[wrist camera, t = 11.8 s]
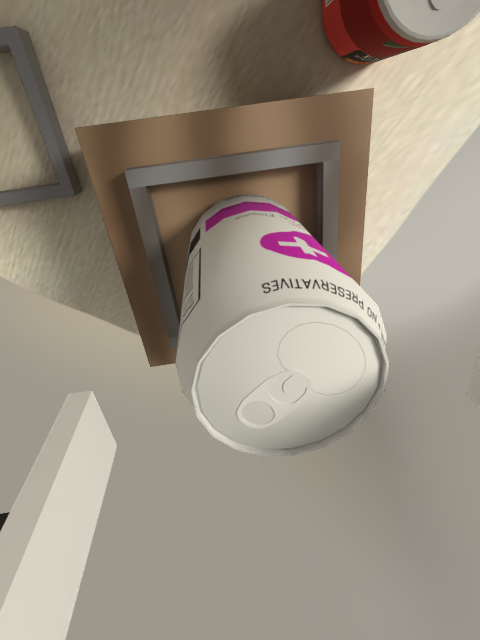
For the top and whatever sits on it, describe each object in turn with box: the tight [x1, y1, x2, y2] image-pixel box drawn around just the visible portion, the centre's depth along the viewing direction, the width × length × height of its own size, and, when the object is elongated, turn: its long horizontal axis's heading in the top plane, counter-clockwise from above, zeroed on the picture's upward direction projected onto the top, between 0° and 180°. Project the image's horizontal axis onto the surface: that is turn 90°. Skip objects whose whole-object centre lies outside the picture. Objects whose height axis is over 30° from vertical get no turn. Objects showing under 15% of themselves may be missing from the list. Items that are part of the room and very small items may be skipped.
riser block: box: [75, 88, 374, 367], centre depth 30 cm, size 18×18×14 cm
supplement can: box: [176, 194, 389, 456], centre depth 19 cm, size 8×8×15 cm
